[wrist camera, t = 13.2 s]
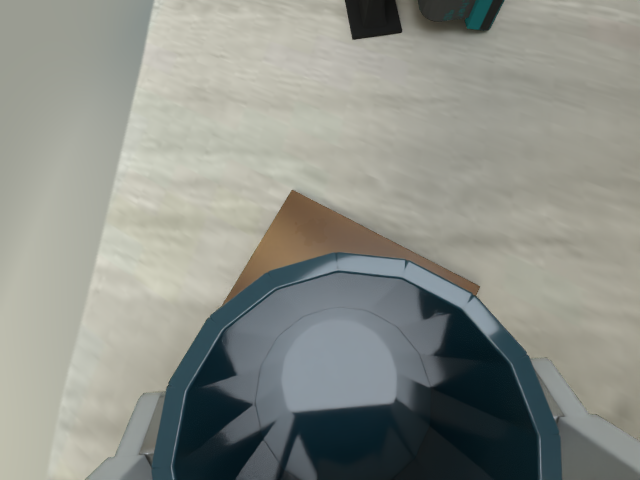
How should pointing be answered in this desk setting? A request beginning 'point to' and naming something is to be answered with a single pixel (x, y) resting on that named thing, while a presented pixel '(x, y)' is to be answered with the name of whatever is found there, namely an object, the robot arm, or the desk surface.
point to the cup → (355, 383)
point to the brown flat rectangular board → (323, 242)
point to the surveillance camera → (435, 4)
